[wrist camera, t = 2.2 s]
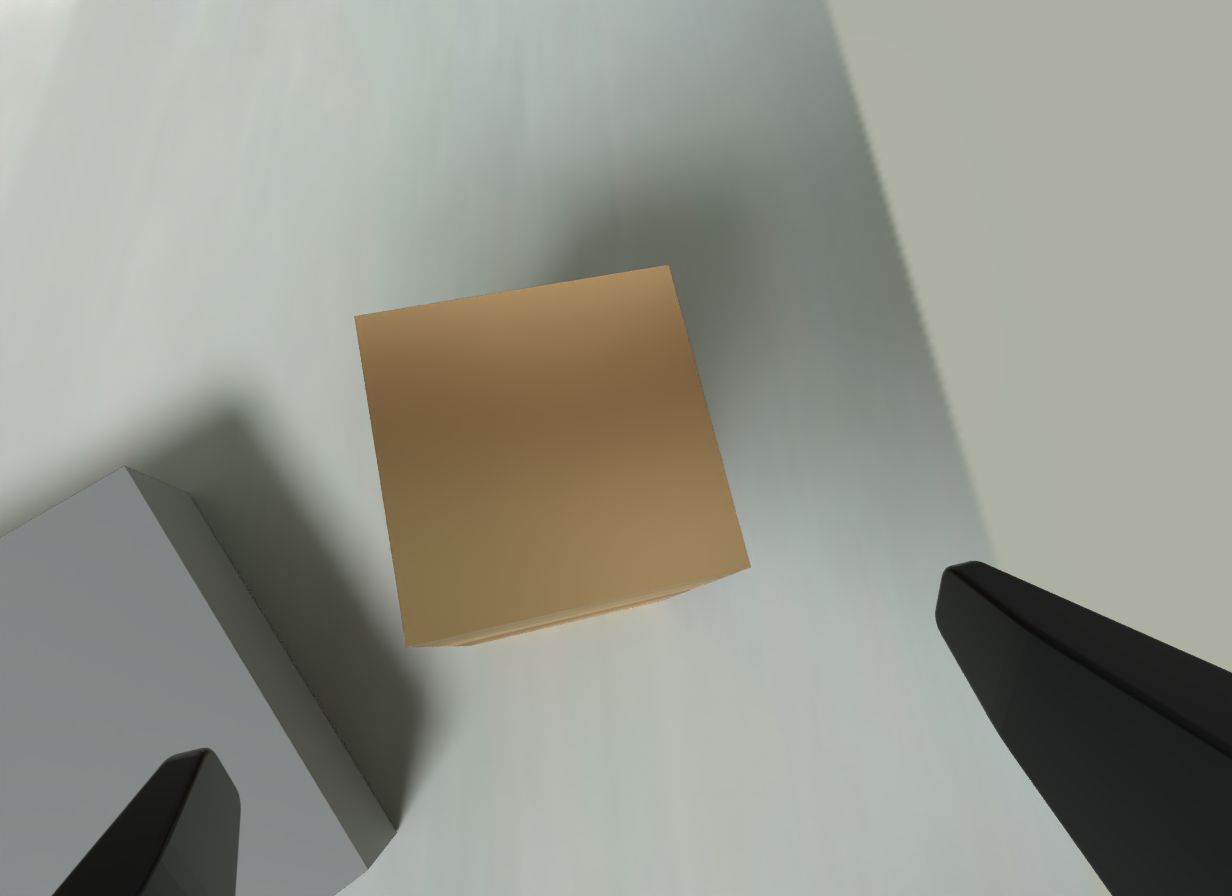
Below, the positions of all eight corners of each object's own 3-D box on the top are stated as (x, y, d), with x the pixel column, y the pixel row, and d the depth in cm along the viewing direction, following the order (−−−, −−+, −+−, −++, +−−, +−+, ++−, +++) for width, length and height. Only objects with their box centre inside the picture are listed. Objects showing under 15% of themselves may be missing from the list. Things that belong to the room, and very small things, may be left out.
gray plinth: (396, 832, 17) (367, 869, 14) (-26, 1155, 15) (-160, 1276, 12) (187, 493, 19) (124, 465, 16) (-224, 740, 17) (-384, 760, 14)
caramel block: (658, 601, 19) (750, 567, 11) (469, 646, 19) (406, 647, 10) (616, 424, 21) (668, 264, 12) (436, 459, 20) (354, 316, 11)
